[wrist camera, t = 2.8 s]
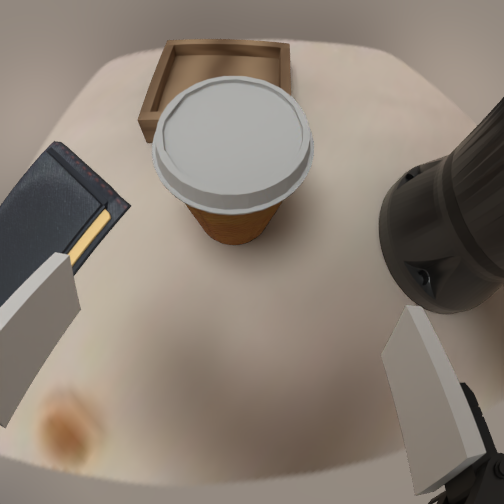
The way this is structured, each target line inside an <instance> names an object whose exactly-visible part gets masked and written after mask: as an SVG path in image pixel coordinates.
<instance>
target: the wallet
mask: <svg viewBox="0 0 504 504" xmlns="http://www.w3.org/2000/svg"><path fill="white" fill-rule="evenodd" d="M130 207H131V205H130V204H129V203H127V202H126V201H125V200H124V199H123V198H121V197H120V196H119V195H118V193H117V192H116V191H115V190H114V189H113V188H112V187H111V186H110V185H109V184H108V183H107V182H105V181H104V180H103V179H102V178H101V177H100V176H99V175H98V174H97V173H95V172H94V171H93V170H92V169H91V168H90V167H89V166H88V165H87V164H85V163H84V162H83V161H82V160H81V159H80V158H79V157H78V156H77V155H76V154H74V153H73V152H72V151H71V150H70V149H69V148H68V147H67V146H65V145H64V144H63V143H62V142H56V141H54V142H53V143H52V144H51V145H50V146H49V147H48V148H47V149H46V150H45V151H44V152H43V153H42V154H41V155H40V156H39V158H38V159H37V160H36V161H35V162H34V163H33V164H32V166H31V167H30V168H29V169H28V170H27V172H26V173H25V174H24V175H23V177H22V178H21V179H20V180H19V182H18V183H17V184H16V186H15V187H14V188H13V189H12V191H11V192H10V193H9V195H8V196H7V197H6V199H5V200H4V202H3V203H2V204H1V206H0V307H1V306H2V305H3V304H4V303H5V302H6V301H7V300H8V299H9V298H10V297H11V296H12V294H13V293H14V292H15V291H16V290H17V289H18V288H19V287H20V286H21V285H22V284H23V283H24V282H25V281H26V280H27V279H28V278H29V277H30V276H31V275H32V274H33V273H34V272H35V271H36V270H37V269H38V268H39V267H40V266H41V265H42V264H43V263H44V262H45V261H46V260H47V259H49V258H50V257H51V256H52V255H53V254H54V253H55V252H57V253H62V254H67V255H70V260H71V265H72V271H73V276H74V275H75V274H76V273H77V271H78V270H79V269H80V267H81V266H82V265H83V263H84V262H85V261H86V260H87V258H88V257H89V256H90V255H91V253H92V252H93V251H94V250H95V248H96V247H97V246H98V245H99V243H100V242H101V241H102V240H103V238H104V237H105V236H106V235H107V234H108V232H109V231H110V230H111V229H112V228H113V226H114V225H115V224H116V223H117V222H118V221H119V219H120V218H121V217H122V216H123V215H124V214H125V213H126V211H127V210H128V209H129V208H130Z"/></svg>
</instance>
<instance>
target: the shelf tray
mask: <svg viewBox="0 0 504 504" xmlns="http://www.w3.org/2000/svg"><path fill="white" fill-rule="evenodd" d="M222 76H246V77H251V78H256V79H260V80H264V81H267V82H269V83H271V84H273V85H275V86H277V87H279V88H281V89H282V90H284V91H285V92H286V93H288V94H289V95H290V96H291V75H290V45H289V44H287V43H278V42H267V41H253V40H231V39H189V40H168V41H167V43H166V45H165V47H164V50H163V52H162V55H161V57H160V60H159V62H158V65H157V67H156V70H155V72H154V75H153V77H152V80H151V83H150V86H149V88H148V91H147V94H146V97H145V100H144V102H143V105H142V108H141V111H140V114H139V117H138V122H139V125H140V127H141V130H142V132H143V135H144V137H145V139H146V142H147V143H153V138H154V134H155V132H156V129H157V124H158V121H159V119H160V116H161V114H162V113H163V111H164V110H165V108H166V107H167V105H168V104H169V103H170V102H171V101H172V100H173V99H174V98H175V97H176V96H177V95H178V94H179V93H181V92H183V91H184V90H186V89H188V88H189V87H191V86H193V85H194V84H196V83H199V82H202V81H204V80H207V79H211V78H217V77H222Z"/></svg>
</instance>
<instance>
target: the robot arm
mask: <svg viewBox="0 0 504 504" xmlns="http://www.w3.org/2000/svg"><path fill="white" fill-rule="evenodd" d="M379 234H380V242H381V247H382V251H383V254H384V257H385V260H386V263H387V265H388V268H389V270H390V272H391V274H392V275H393V277H394V279H395V280H396V282H397V283H398V285H399V286H400V287H401V289H402V290H403V291H404V292H405V293H406V294H407V295H408V296H409V297H410V298H411V299H412V300H413V301H414V302H416V303H417V304H419V305H420V306H413V305H406V306H405V308H404V310H403V312H402V314H401V316H400V318H399V320H398V322H397V324H396V326H395V328H394V330H393V332H392V334H391V336H390V338H389V340H388V342H387V344H386V346H385V348H384V349H383V351H382V353H381V358H382V361H383V364H384V368H385V371H386V375H387V378H388V381H389V385H390V389H391V392H392V396H393V400H394V403H395V407H396V411H397V415H398V419H399V423H400V427H401V431H402V435H403V439H404V444H405V448H406V452H407V457H408V461H409V466H410V471H411V476H412V481H413V487H414V492H415V495H421V494H426V493H430V492H434V491H435V490H437V489H439V488H440V487H441V486H443V485H445V489H446V491H444V492H443V493H441V494H439V495H438V496H436V497H435V498H433V499H431V501H430V502H429V503H428V504H433V503H435V502H436V501H438V502H437V504H504V454H503V453H497V450H496V448H495V446H494V443H493V440H492V437H491V435H490V432H489V429H488V427H487V424H486V422H485V419H484V417H482V412H481V409H480V407H478V405H479V404H478V402H477V400H476V397H475V395H474V393H473V392H472V391H471V389H470V388H469V387H468V386H467V385H466V383H459V381H458V379H457V376H456V374H455V372H454V370H453V368H452V365H451V363H450V361H449V359H448V357H447V355H446V353H445V351H444V349H443V347H442V345H441V343H440V340H439V338H438V337H437V335H436V333H435V331H434V329H433V327H432V325H431V323H430V321H429V319H428V317H427V315H426V313H425V312H424V310H423V308H425V309H427V310H430V311H433V312H436V313H442V314H451V313H457V312H461V311H466V310H469V309H472V308H474V307H476V306H478V305H480V304H481V303H482V302H484V301H485V300H486V299H487V298H488V297H490V296H491V295H492V294H493V293H494V292H495V291H496V290H498V289H499V288H500V287H501V286H502V285H503V284H504V97H503V98H502V100H501V101H500V102H499V103H498V104H497V105H496V106H495V107H494V109H493V110H492V111H491V112H490V113H489V114H488V115H487V116H486V118H485V119H483V121H482V122H481V123H480V124H479V125H478V126H477V127H476V128H475V129H474V130H473V131H472V132H471V133H470V134H469V135H468V136H467V137H466V138H465V139H464V140H463V141H462V142H461V143H460V144H459V146H458V147H457V148H456V149H455V150H454V151H453V152H452V153H451V154H450V155H447V156H445V157H442V158H439V159H436V160H433V161H430V162H428V163H425V164H422V165H419V166H417V167H414V168H412V169H411V170H409V171H408V172H406V173H405V174H404V175H402V177H401V178H400V179H399V180H398V181H397V182H396V183H395V184H394V185H393V186H392V187H391V189H390V190H389V191H388V193H387V195H386V197H385V199H384V201H383V204H382V207H381V212H380V219H379ZM422 307H423V308H422ZM80 310H81V308H80V304H79V299H78V295H77V290H76V286H75V281H74V276H73V271H72V265H71V260H70V255H67V254H62V253H57V252H55V253H54V254H53V255H52V256H51V257H50V258H49V259H47V260H46V261H45V262H44V263H43V264H42V265H41V266H40V267H39V268H38V269H37V270H36V271H35V272H34V273H33V274H32V275H31V276H30V277H29V278H28V279H27V280H26V281H25V282H24V283H23V284H22V285H21V286H20V287H19V288H18V289H17V290H16V291H15V292H14V293H13V294H12V296H11V297H10V298H9V299H8V300H7V301H6V302H5V303H4V304H3V305H2V306H1V307H0V425H1V426H2V427H4V428H6V426H7V425H8V423H9V421H10V419H11V417H12V416H13V414H14V412H15V410H16V409H17V407H18V405H19V403H20V402H21V400H22V398H23V396H24V395H25V393H26V391H27V390H28V388H29V386H30V385H31V383H32V382H33V380H34V378H35V377H36V375H37V373H38V372H39V370H40V369H41V367H42V366H43V364H44V362H45V361H46V359H47V358H48V356H49V355H50V353H51V352H52V350H53V349H54V347H55V346H56V344H57V343H58V341H59V340H60V338H61V337H62V335H63V334H64V333H65V331H66V330H67V328H68V327H69V325H70V324H71V323H72V321H73V320H74V318H75V317H76V315H77V314H78V313H79V311H80Z"/></svg>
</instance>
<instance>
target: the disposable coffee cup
mask: <svg viewBox="0 0 504 504" xmlns="http://www.w3.org/2000/svg"><path fill="white" fill-rule="evenodd" d="M313 156H314V141H313V137H312V133H311V130H310V128H309V123H308V121H307V118H306V115H305V113H304V111H303V110H302V108H301V106H300V105H299V104H298V103H297V102H296V101H295V99H294V98H293V97H292V96H290V95H289V94H288V93H286V92H285V91H284V90H282V89H281V88H279V87H277V86H275V85H273V84H271V83H269V82H267V81H264V80H260V79H256V78H251V77H246V76H222V77H217V78H211V79H207V80H204V81H202V82H199V83H196V84H194V85H193V86H191V87H189V88H188V89H186V90H184V91H183V92H181V93H179V94H178V95H177V96H176V97H175V98H174V99H173V100H172V101H171V102H170V103H169V104H168V105H167V107H166V108H165V110H164V111H163V113H162V114H161V116H160V119H159V121H158V124H157V129H156V132H155V134H154V138H153V143H152V158H153V163H154V167H155V170H156V172H157V174H158V176H159V178H160V180H161V182H162V183H163V185H164V186H165V187H166V188H167V189H168V190H169V191H170V192H171V193H172V194H173V195H174V196H175V197H176V198H178V199H179V200H181V201H182V202H184V203H185V204H186V206H187V207H188V208H189V210H190V211H191V213H192V214H193V215H194V217H195V218H196V219H197V221H198V222H199V223H200V225H201V226H202V228H203V229H204V231H205V232H206V233H207V234H208V235H209V236H210V237H211V238H213V239H214V240H217V241H219V242H221V243H224V244H229V245H238V244H244V243H247V242H249V241H251V240H253V239H255V238H256V237H258V236H259V235H260V234H261V233H262V232H263V230H264V229H265V227H266V226H267V224H268V223H269V221H270V220H271V218H272V217H273V215H274V214H275V212H276V211H277V209H278V207H279V206H280V204H281V203H282V201H283V200H284V199H286V198H287V197H288V196H290V195H291V194H292V193H293V192H294V191H295V190H296V189H297V188H298V187H299V186H300V185H301V184H302V182H303V181H304V179H305V178H306V176H307V174H308V172H309V170H310V167H311V164H312V160H313Z"/></svg>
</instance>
